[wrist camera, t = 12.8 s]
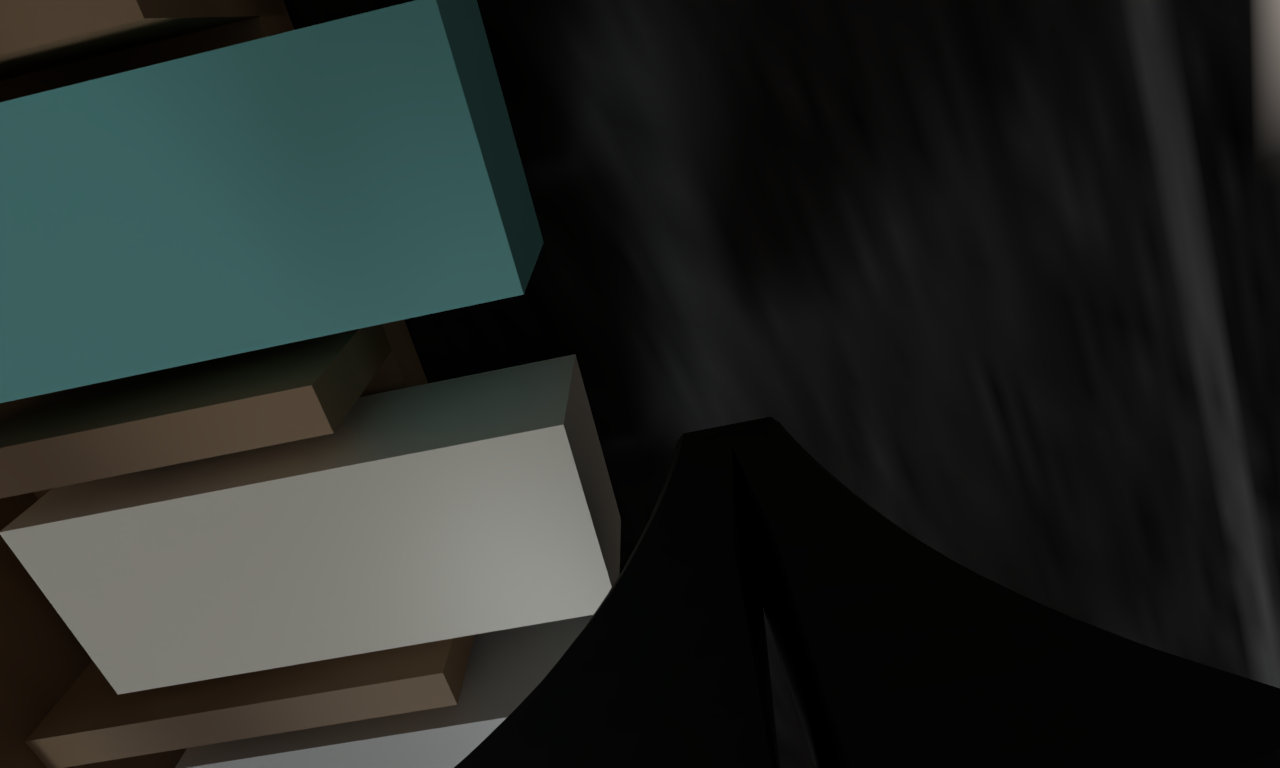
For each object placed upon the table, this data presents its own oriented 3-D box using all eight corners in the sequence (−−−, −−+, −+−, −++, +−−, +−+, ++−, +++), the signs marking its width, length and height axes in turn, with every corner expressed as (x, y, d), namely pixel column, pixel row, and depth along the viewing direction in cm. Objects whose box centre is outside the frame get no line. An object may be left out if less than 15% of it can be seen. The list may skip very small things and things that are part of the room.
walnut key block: (258, -66, 10) (54, -105, 7) (560, 733, 17) (541, 925, 14) (-292, 77, 11) (-743, 109, 7) (213, 787, 18) (108, 982, 14)
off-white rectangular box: (575, 354, 12) (563, 424, 10) (621, 519, 13) (618, 610, 11) (100, 448, 12) (-1, 532, 10) (191, 596, 14) (117, 694, 12)
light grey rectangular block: (643, 597, 14) (645, 695, 12) (676, 716, 15) (682, 822, 13) (236, 666, 15) (173, 769, 13) (303, 774, 16) (256, 882, 14)
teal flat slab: (476, -2, 9) (434, -5, 7) (543, 242, 11) (523, 294, 9) (-95, 137, 10) (-271, 168, 8) (37, 350, 12) (-85, 421, 10)
